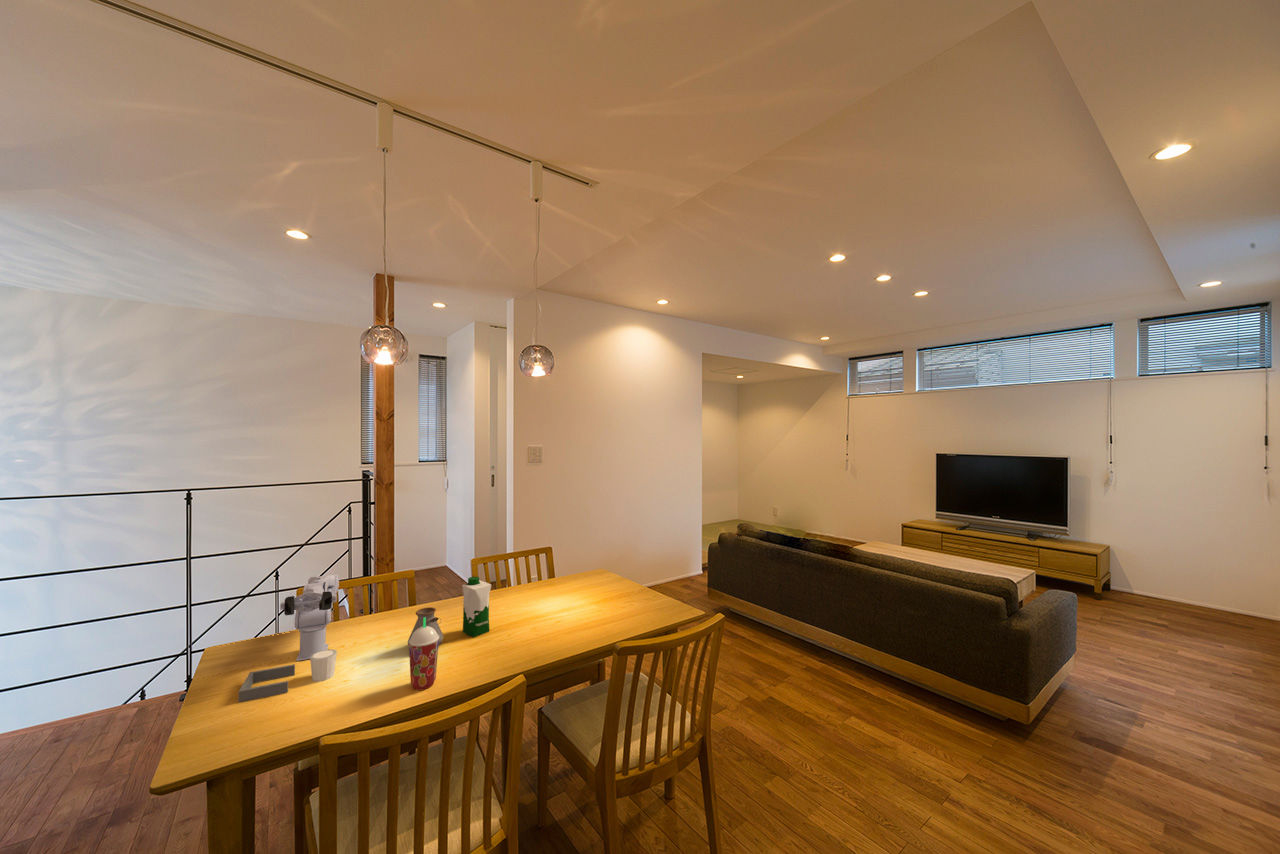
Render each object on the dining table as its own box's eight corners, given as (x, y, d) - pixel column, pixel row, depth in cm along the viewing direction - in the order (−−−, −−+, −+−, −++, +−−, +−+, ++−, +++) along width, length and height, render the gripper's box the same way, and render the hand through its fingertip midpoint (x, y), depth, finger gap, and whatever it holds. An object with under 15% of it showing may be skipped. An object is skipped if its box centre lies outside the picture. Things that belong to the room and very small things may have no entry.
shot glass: (331, 669, 149) (332, 646, 150) (339, 676, 145) (340, 653, 145) (306, 677, 144) (306, 654, 144) (313, 685, 140) (314, 661, 140)
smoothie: (442, 677, 145) (444, 612, 145) (431, 692, 136) (433, 623, 137) (415, 677, 145) (416, 612, 145) (402, 692, 136) (403, 623, 136)
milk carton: (479, 625, 184) (480, 574, 185) (493, 631, 179) (494, 578, 179) (458, 632, 177) (459, 579, 178) (472, 639, 172) (473, 584, 172)
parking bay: (249, 682, 141) (250, 672, 141) (294, 673, 146) (295, 664, 146) (238, 702, 130) (238, 691, 130) (287, 692, 136) (287, 682, 136)
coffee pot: (404, 645, 166) (405, 603, 167) (438, 637, 173) (439, 596, 174) (417, 670, 149) (418, 622, 150) (455, 660, 156) (456, 614, 157)
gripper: (284, 588, 151) (275, 599, 139) (337, 582, 158) (333, 591, 146) (284, 611, 151) (275, 623, 139) (337, 603, 158) (333, 614, 146)
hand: (305, 608), depth 143 cm, fingers open, 7 cm apart
